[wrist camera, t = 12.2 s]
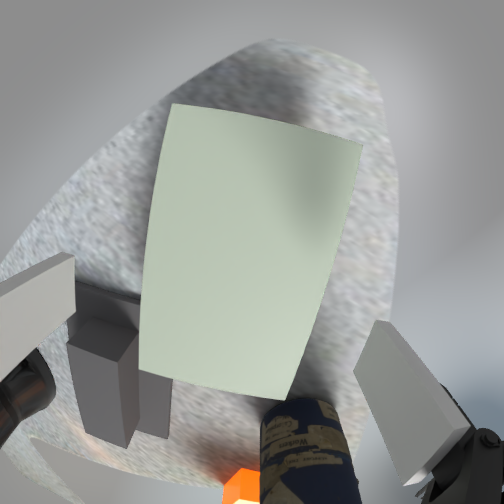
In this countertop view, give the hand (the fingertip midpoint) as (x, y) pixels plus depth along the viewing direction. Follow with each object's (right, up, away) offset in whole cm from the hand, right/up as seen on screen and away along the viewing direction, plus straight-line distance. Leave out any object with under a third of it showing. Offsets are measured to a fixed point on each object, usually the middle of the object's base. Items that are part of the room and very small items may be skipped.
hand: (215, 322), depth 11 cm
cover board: (0, +2, +8) cm, 8 cm away
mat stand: (-14, -11, +18) cm, 25 cm away
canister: (+7, -17, +20) cm, 27 cm away
